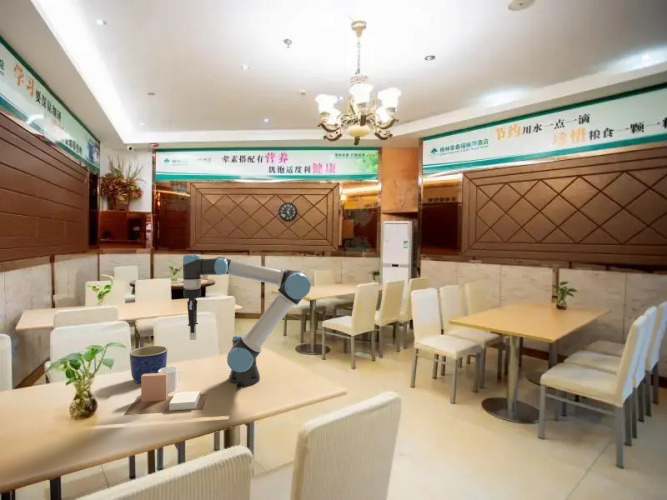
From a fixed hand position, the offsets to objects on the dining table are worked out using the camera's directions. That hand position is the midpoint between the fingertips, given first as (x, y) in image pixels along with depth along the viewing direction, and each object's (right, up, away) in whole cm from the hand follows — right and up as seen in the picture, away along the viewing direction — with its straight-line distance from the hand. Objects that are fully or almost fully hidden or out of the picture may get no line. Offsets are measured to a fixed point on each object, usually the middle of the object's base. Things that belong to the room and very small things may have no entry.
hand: (193, 339), depth 172 cm
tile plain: (-13, -24, -9) cm, 29 cm away
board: (-5, -26, -13) cm, 29 cm away
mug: (-14, -25, +2) cm, 29 cm away
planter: (-28, -25, +15) cm, 40 cm away
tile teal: (+1, -23, -8) cm, 24 cm away
